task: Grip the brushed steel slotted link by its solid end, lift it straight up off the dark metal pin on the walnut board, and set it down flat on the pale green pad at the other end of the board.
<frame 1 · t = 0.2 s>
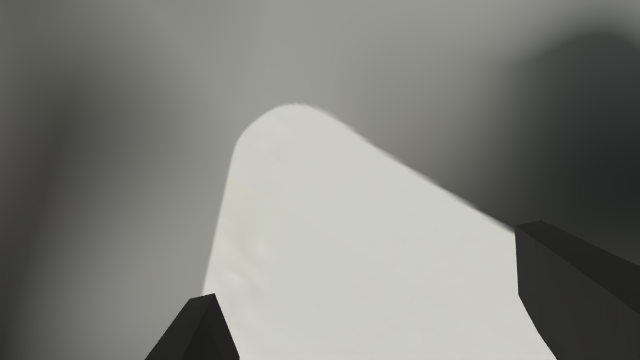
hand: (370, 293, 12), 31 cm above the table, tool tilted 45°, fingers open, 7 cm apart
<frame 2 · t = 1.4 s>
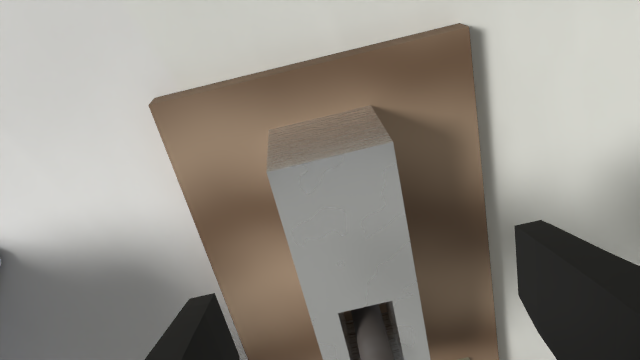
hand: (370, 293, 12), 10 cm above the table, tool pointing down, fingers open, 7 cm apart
stand: (370, 333, 25), on the table
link: (347, 237, 21), point 1 cm above the table, touching stand
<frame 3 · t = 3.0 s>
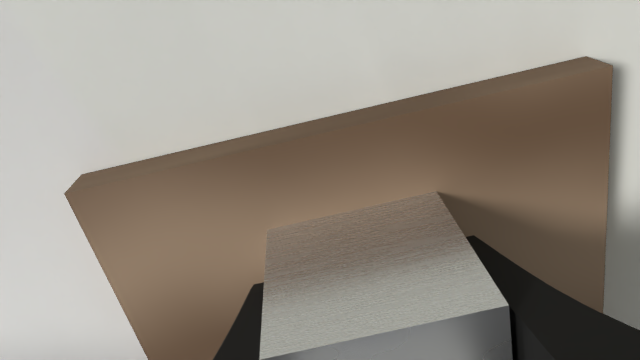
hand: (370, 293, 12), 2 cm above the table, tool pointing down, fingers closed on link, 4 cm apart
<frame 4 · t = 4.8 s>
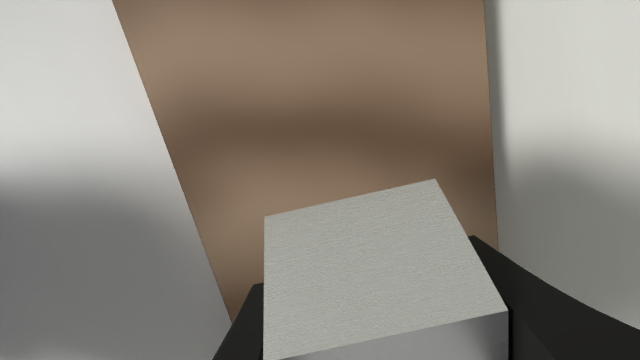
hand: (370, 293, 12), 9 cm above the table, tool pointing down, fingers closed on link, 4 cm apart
stand: (362, 284, 22), on the table
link: (381, 350, 14), point 8 cm above the table, tilted 7°, touching gripper
when the fingers open (3 cm above the table, at t = 7.0 s): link stays where it is, resting on stand.
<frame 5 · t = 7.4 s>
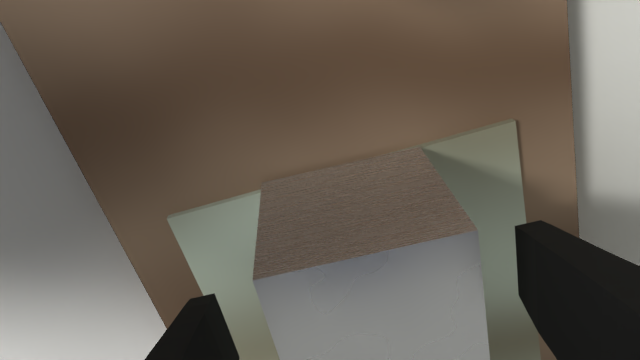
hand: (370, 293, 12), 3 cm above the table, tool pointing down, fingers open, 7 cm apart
stand: (313, 82, 12), on the table
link: (377, 330, 14), point 1 cm above the table, touching stand
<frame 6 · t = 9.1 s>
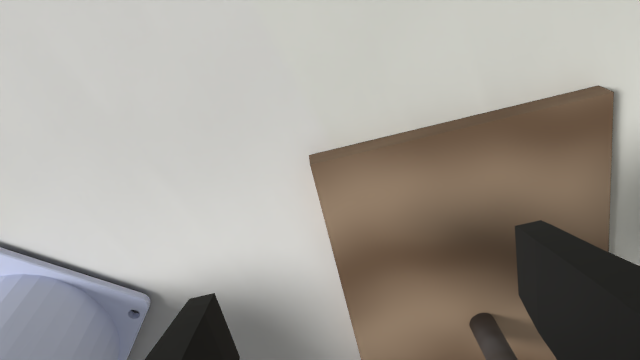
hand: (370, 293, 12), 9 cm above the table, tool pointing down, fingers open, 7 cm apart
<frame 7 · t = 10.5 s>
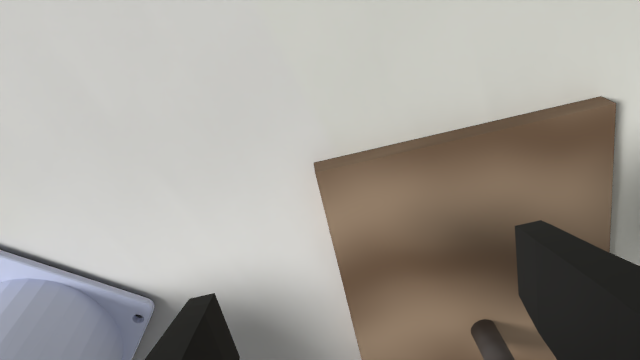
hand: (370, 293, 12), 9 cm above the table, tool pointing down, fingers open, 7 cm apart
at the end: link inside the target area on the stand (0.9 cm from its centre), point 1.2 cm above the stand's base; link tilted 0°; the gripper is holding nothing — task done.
